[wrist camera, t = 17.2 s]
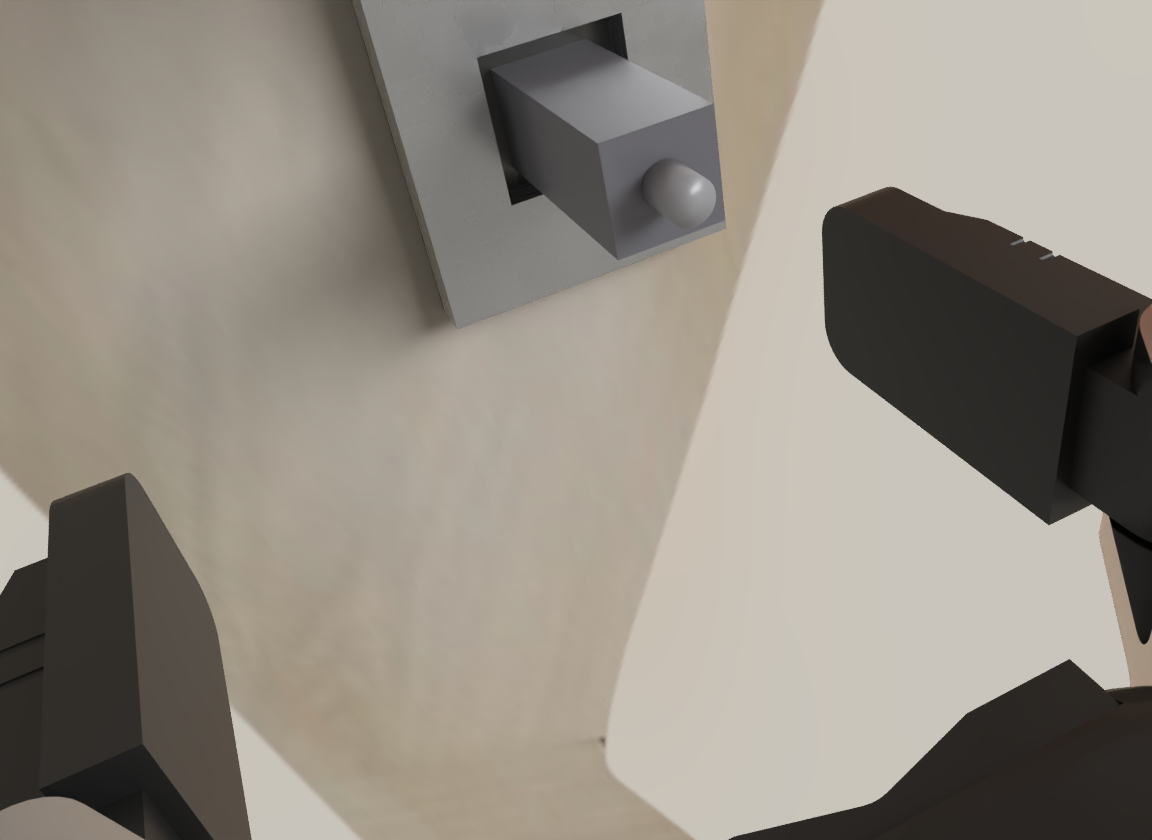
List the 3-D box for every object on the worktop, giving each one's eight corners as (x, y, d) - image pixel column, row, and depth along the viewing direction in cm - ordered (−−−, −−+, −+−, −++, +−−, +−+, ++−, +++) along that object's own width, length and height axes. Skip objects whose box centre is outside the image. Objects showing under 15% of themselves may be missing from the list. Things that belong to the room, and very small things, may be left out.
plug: (513, 167, 44) (642, 282, 34) (490, 69, 41) (623, 161, 31) (602, 137, 45) (754, 239, 35) (585, 38, 42) (744, 119, 32)
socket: (335, -54, 37) (350, -44, 35) (666, -145, 40) (697, -141, 38) (444, 310, 47) (461, 334, 44) (705, 214, 50) (732, 232, 48)
